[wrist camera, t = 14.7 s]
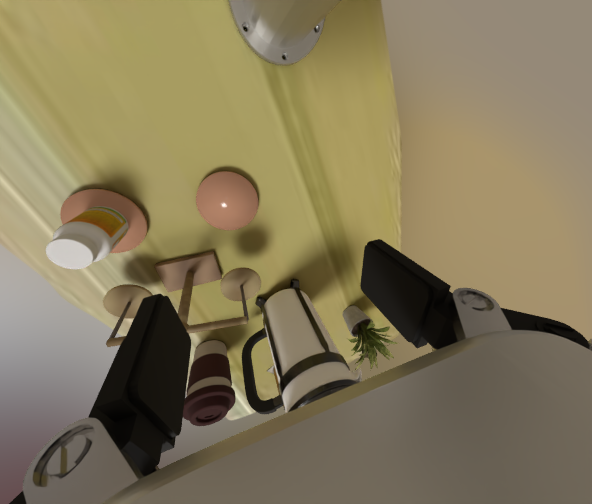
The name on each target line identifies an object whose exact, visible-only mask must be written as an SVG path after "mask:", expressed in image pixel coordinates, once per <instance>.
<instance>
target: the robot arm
mask: <svg viewBox="0 0 592 504" xmlns="http://www.w3.org/2000/svg"><path fill="white" fill-rule="evenodd" d="M228 1H229V6H230V9H231V13H232V16H233V19H234V22H235V24H236V26H237V28H238V31H239V32H240V34H241V36H242V37H243V39H244V41H245V42H246V43H247V45H248V46H249V47H250V48H251V49H252V50H253V52H255V53H256V54H257V55H258V56H259V57H261V58H262V59H264V60H266V61H267V62H269V63H272V64H276V65H290V64H294V63H296V62H298V61H300V60H301V59H303V58H304V57H305V56H306V55H307V54H308V53H309V52H310V51H311V50H312V49H313V47H314V46H315V44H316V43H317V41H318V39H319V37H320V34H321V32H322V29H323V25H324V21H325V16H326V15H327V14H328V13H329V12H330V11H331V10H332V9H333V8H334V7H335V6H336V5H337V4H338V3H339V2H340V1H341V0H228ZM244 27H245V28H247V32H245V31H244V29H243V28H244ZM314 29H315V30H316V33H315V31H314ZM282 56H284V57H285V60H283V59H282ZM361 289H362V291H363V293H364V294H365V295H366V296H367V297H368V298H369V299H370V300H371V301H372V302H373V304H374V305H375V306H376V307H377V308H378V309H379V310H380V311H381V312H382V314H383V315H384V316H385V317H386V318H387V319H388V320H389V321H390V322H391V324H392V325H393V326H394V327H395V328H396V329H397V330H398V331H399V332H400V333H401V335H402V336H403V337H404V338H405V339H406V340H407V341H408V342H412V343H413V344H414V345H415V347H416V348H419V347H421V346H424V345H426V344H427V343H429V344H430V345H431V346H432V352H431V353H428V354H426V355H424V356H422V357H419V358H416V359H414V360H412V361H409V362H407V363H404V364H402V365H400V366H397V367H395V368H393V369H390V370H388V371H385V372H383V373H381V374H378V375H376V376H373V377H371V378H368V379H366V380H364V381H361V382H359V383H357V384H354V385H352V386H349V387H347V388H345V389H342V390H340V391H338V392H335V393H333V394H330V395H328V396H326V397H323V398H321V399H319V400H316V401H314V402H311V403H309V404H307V405H304V406H302V407H300V408H297V409H295V410H293V411H290V412H288V413H286V414H284V415H281V416H279V417H276V418H274V419H272V420H269V421H267V422H265V423H262V424H260V425H258V426H255V427H253V428H251V429H248V430H246V431H244V432H241V433H239V434H237V435H234V436H232V437H230V438H227V439H225V440H223V441H221V442H218V443H216V444H214V445H212V446H209V447H207V448H205V449H203V450H200V451H198V452H196V453H194V454H191V455H189V456H187V457H185V458H183V459H180V460H178V461H176V462H174V463H171V464H170V465H167V466H166V467H164V468H162V469H159V468H158V466H157V465H158V464H159V461H160V456H161V453H162V452H165V451H167V450H170V449H172V448H174V445H175V437H176V436H177V435H179V434H180V432H181V426H182V418H183V410H184V401H185V393H186V384H187V376H188V367H189V359H190V350H191V339H190V336H189V334H188V332H187V331H186V329H185V327H184V325H183V323H182V321H181V320H180V318H179V316H178V314H177V312H176V310H175V309H174V307H173V305H172V303H171V301H170V299H169V298H168V296H163V295H162V294H157V295H153V296H149V297H145V298H143V300H142V302H141V304H140V306H139V309H138V311H137V313H136V316H135V318H134V320H133V322H132V325H131V327H130V329H129V332H128V334H127V336H126V338H124V340H123V341H122V343H121V345H120V348H119V350H118V352H117V354H116V356H115V359H114V361H113V363H112V365H111V368H110V370H109V372H108V374H107V377H106V379H105V381H104V383H103V386H102V388H101V390H100V392H99V395H98V397H97V399H96V401H95V403H94V406H93V408H92V410H91V412H90V415H89V417H88V418H85V419H81V420H78V421H76V422H74V423H73V424H71V425H69V426H67V427H66V428H64V429H63V430H62V431H60V432H59V433H58V434H56V435H55V436H54V437H53V438H52V439H51V440H50V441H49V442H48V443H47V444H46V445H45V446H44V447H43V448H42V449H41V451H40V452H39V453H38V454H37V455H36V457H35V458H34V460H33V462H32V463H31V465H30V467H29V468H28V469H27V472H26V475H25V478H24V480H23V491H22V492H21V493H20V494H19V495H18V496H17V497H16V498H15V499H14V500H13V501H12V502H11V503H9V504H592V339H590V340H589V341H587V340H586V339H585V338H584V337H583V335H581V334H580V333H578V332H577V331H576V330H574V329H573V328H571V327H570V326H568V325H566V324H564V323H561V322H558V321H555V320H552V319H548V318H544V317H539V316H535V315H530V314H526V313H521V312H517V311H513V310H508V309H504V308H500V306H499V304H498V303H497V302H496V301H495V300H494V299H493V298H492V297H490V296H489V295H487V294H485V293H483V292H481V291H478V290H475V289H471V288H458V289H456V290H455V291H454V292H453V293H451V292H450V291H449V289H450V285H448V284H447V283H445V282H443V281H442V280H441V279H439V278H438V277H436V276H434V275H433V274H432V273H430V272H429V271H427V270H426V269H424V268H422V267H421V266H420V265H418V264H417V263H415V262H414V261H412V260H411V259H409V258H408V257H406V256H405V255H403V254H402V253H400V252H399V251H397V250H396V249H394V248H393V247H391V246H390V245H388V244H387V243H385V242H384V241H382V240H380V239H378V240H374V241H370V242H368V243H367V245H366V246H365V250H364V259H363V268H362V276H361Z"/></svg>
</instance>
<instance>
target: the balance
mask: <svg viewBox="0 0 592 504" xmlns="http://www.w3.org/2000/svg"><path fill="white" fill-rule="evenodd" d="M155 269H156V271H157V273H158V274H159V276H160V278H161V280H162V282H163V284H164V286H165V287H166V289H167V291H168V292H172V291H176V290H180V289H183V291H182V296H181V301H180V306H179V310H178V316H179V318H180V320H181V321H182V323H183V325H184V327H185V329H186V331H187V332H188V334H189V333H195V332H201V331H207V330H213V329H219V328H225V327H230V326H236V325H242V324H247V323H248V320H249V318H248V312H247V306H246V300H248V299H250V298H252V297H253V296H255V295H256V294H257V293H258V291H259V290H260V287H261V280H260V277H259V275H258V274H257V273H256V272H255V271H254V270H252V269H249V268H236V269H233V270H231V271H229V272H228V273H227V274H226V275H225V276H224V277H223V279H222V275H221V272H220V269H219V266H218V263H217V260H216V257H215V254H214V251H211V252H207V253H202V254H197V255H193V256H188V257H184V258H179V259H175V260H170V261H165V262H161V263H156V265H155ZM220 279H222V281H221V291H222V294H223V295H224V296H225V297H226V298H228V299H230V300H233V301H242V303H243V310H244V316H245V317H239V318H233V319H227V320H221V321H215V322H208V323H202V324H196V325H190V326H189V325H188V324H187V320H188V313H189V307H190V300H191V294H192V287H193V286H196V285H200V284H204V283H208V282H212V281H216V280H220ZM149 296H153V295H152V293H151V292H150V291H148V290H147V289H145V288H143V287H141V286H137V285H120V286H117V287H114V288H112V289H111V290H109V291H108V292H107V294H106V295H105V297H104V300H103V304H104V307H105V309H106V310H107V311H108V312H109V313H111V314H113V315H115V316H117V317H120V319H119V320H118V322H117V324H116V326H115V328H114V330H113V332H112V334H111V336H110V338H109V339H108V340H107V343H106V345H107V346H108V347H111V346H117V345H121V343H122V341H123V340H124V338H126V336H123V337H118V338H115V335H116V334H117V332H118V330H119V327H120V325H121V323H122V321H123V319H124V318H135V316H136V313H137V311H138V309H139V306H140V304H141V302H142V300H143V298H145V297H149Z"/></svg>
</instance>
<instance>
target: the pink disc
mask: <svg viewBox="0 0 592 504" xmlns="http://www.w3.org/2000/svg"><path fill="white" fill-rule="evenodd" d="M196 203H197V207H198V210H199V212H200V214H201V216H202V217H203V218H204V219H205V220H206V221H207V222H208V223H209V224H210V225H212V226H214V227H216V228H219V229H223V230H236V229H240V228H242V227H244V226H246V225H247V224H249V223H250V222H251V221H252V219H253V218H254V216H255V215H256V212H257V209H258V197H257V193H256V191H255V189H254V187H253V186H252V184H251V183H250V182H249V181H248V180H247V179H246V178H245V177H243V176H242V175H239V174H237V173H234V172H230V171H220V172H216V173H213V174H211V175H209V176H208V177H207V178H205V179H204V180H203V181H202V183H201V184H200V186H199V188H198V191H197V196H196Z"/></svg>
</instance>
